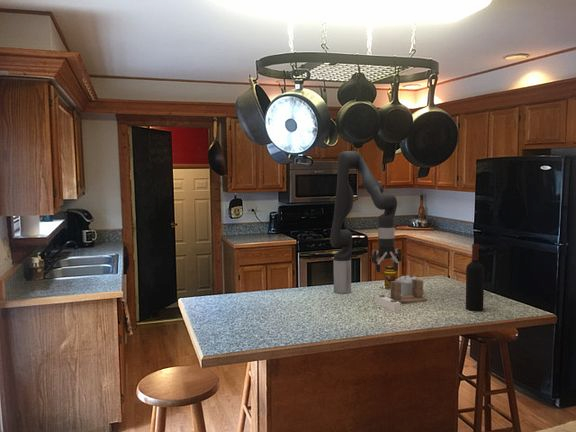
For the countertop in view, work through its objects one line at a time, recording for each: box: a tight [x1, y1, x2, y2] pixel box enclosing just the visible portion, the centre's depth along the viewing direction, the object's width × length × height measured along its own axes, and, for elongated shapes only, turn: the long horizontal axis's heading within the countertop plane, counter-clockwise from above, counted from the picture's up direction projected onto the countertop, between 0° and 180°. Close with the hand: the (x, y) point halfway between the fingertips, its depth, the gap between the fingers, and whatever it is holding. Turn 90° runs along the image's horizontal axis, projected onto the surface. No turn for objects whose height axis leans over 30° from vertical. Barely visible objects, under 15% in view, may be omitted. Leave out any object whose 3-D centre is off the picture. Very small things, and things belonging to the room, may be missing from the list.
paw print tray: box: [396, 275, 418, 295], centre depth 252 cm, size 10×13×9 cm
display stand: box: [387, 278, 428, 305], centre depth 238 cm, size 10×17×10 cm, turn 106°
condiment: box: [380, 265, 397, 290], centre depth 263 cm, size 7×8×12 cm
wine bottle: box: [465, 243, 485, 312], centre depth 219 cm, size 8×8×30 cm
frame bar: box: [374, 294, 402, 312], centre depth 227 cm, size 16×4×4 cm, turn 22°
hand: (386, 271), depth 226 cm, fingers open, 8 cm apart
